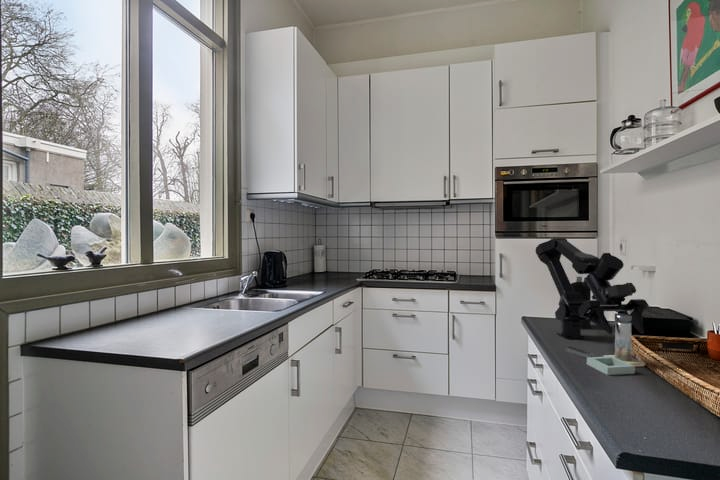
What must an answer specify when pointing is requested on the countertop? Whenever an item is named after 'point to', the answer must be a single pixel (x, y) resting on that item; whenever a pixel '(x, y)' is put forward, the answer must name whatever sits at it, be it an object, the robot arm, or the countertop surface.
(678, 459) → the countertop surface
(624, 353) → the grey round peg
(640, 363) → the beige square plate
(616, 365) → the socket
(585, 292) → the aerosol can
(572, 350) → the bar
